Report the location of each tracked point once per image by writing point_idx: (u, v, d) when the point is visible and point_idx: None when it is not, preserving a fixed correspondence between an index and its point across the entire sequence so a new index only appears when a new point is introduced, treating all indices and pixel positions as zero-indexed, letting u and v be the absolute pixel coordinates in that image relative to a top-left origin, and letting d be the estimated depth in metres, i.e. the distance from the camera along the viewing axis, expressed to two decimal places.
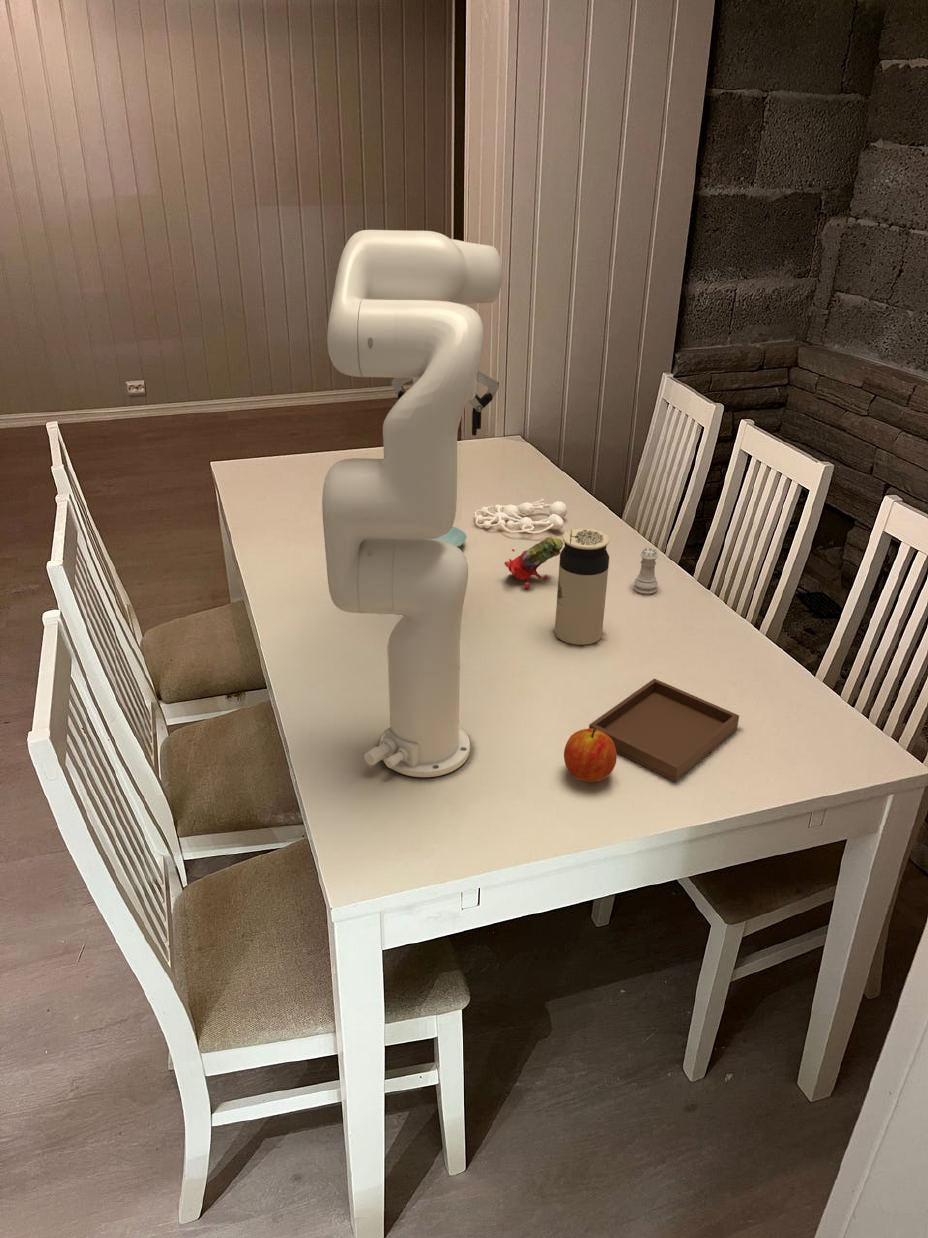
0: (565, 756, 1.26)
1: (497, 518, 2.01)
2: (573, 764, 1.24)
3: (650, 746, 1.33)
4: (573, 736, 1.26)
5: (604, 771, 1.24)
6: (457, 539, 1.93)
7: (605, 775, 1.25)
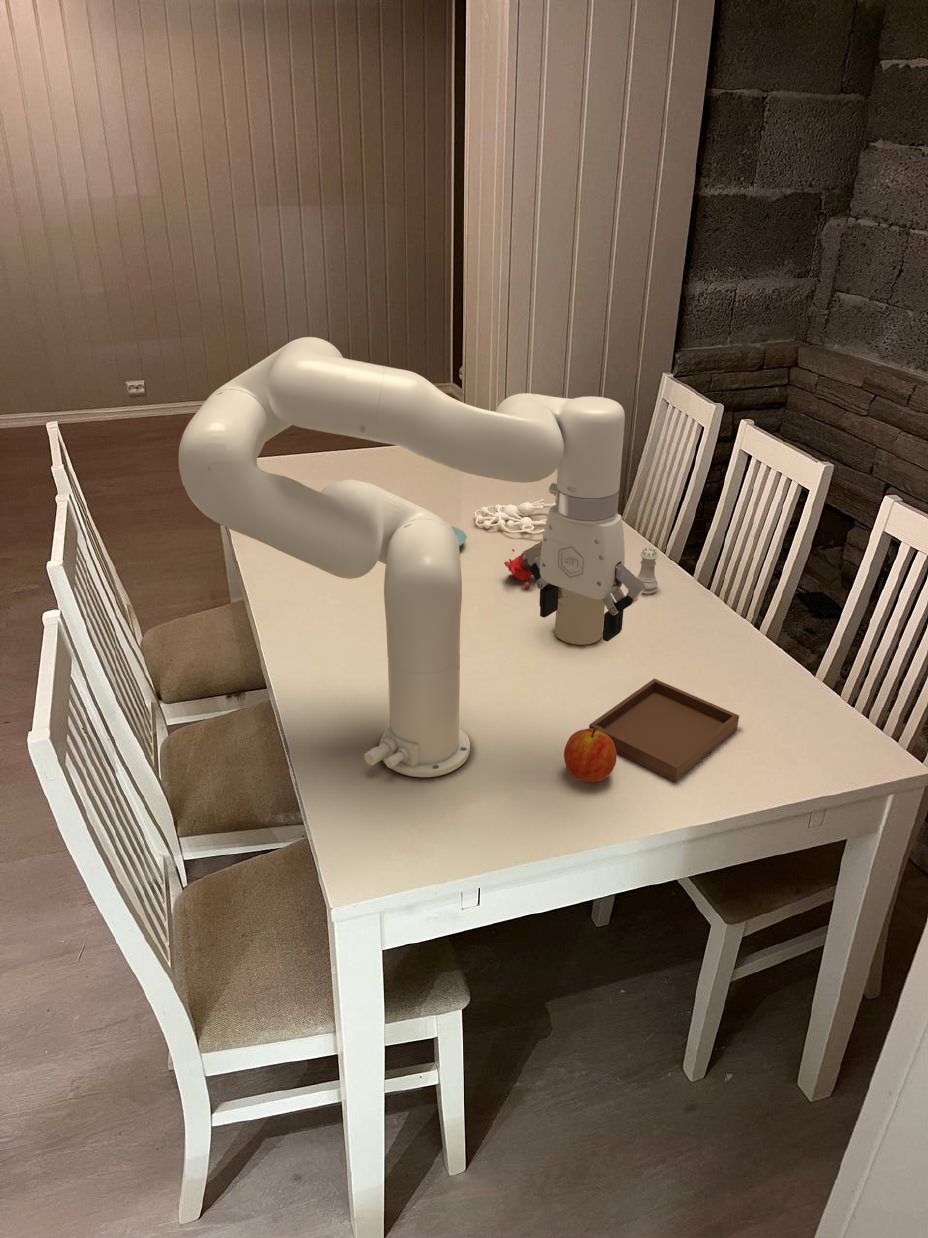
0: (565, 756, 1.26)
1: (497, 518, 2.01)
2: (573, 764, 1.24)
3: (650, 746, 1.33)
4: (573, 736, 1.26)
5: (604, 771, 1.24)
6: None
7: (605, 775, 1.25)
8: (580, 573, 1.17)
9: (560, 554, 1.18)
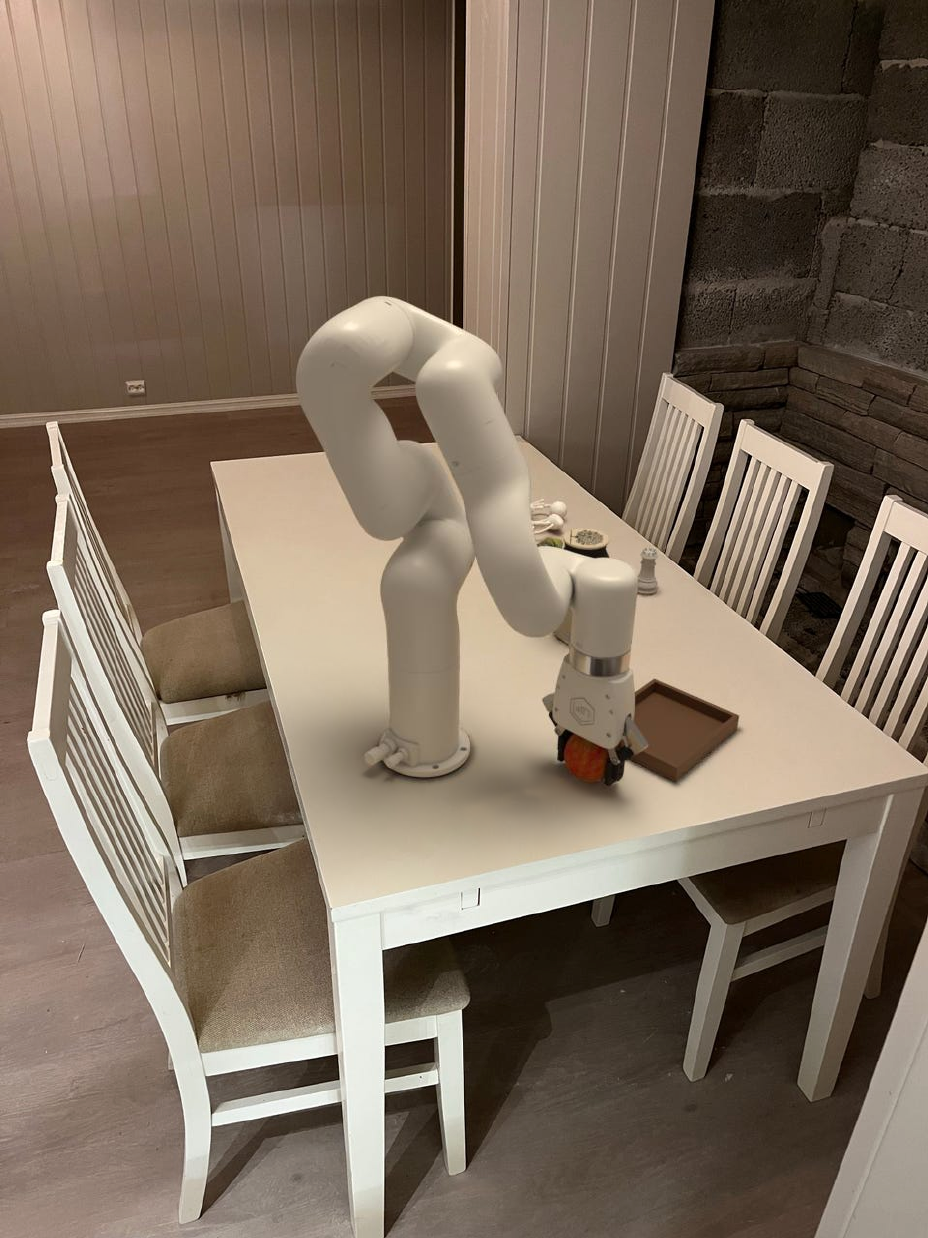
0: (565, 756, 1.26)
1: None
2: (573, 764, 1.24)
3: (650, 746, 1.33)
4: (573, 736, 1.26)
5: (604, 771, 1.24)
6: None
7: None
8: (591, 723, 1.20)
9: (572, 702, 1.21)
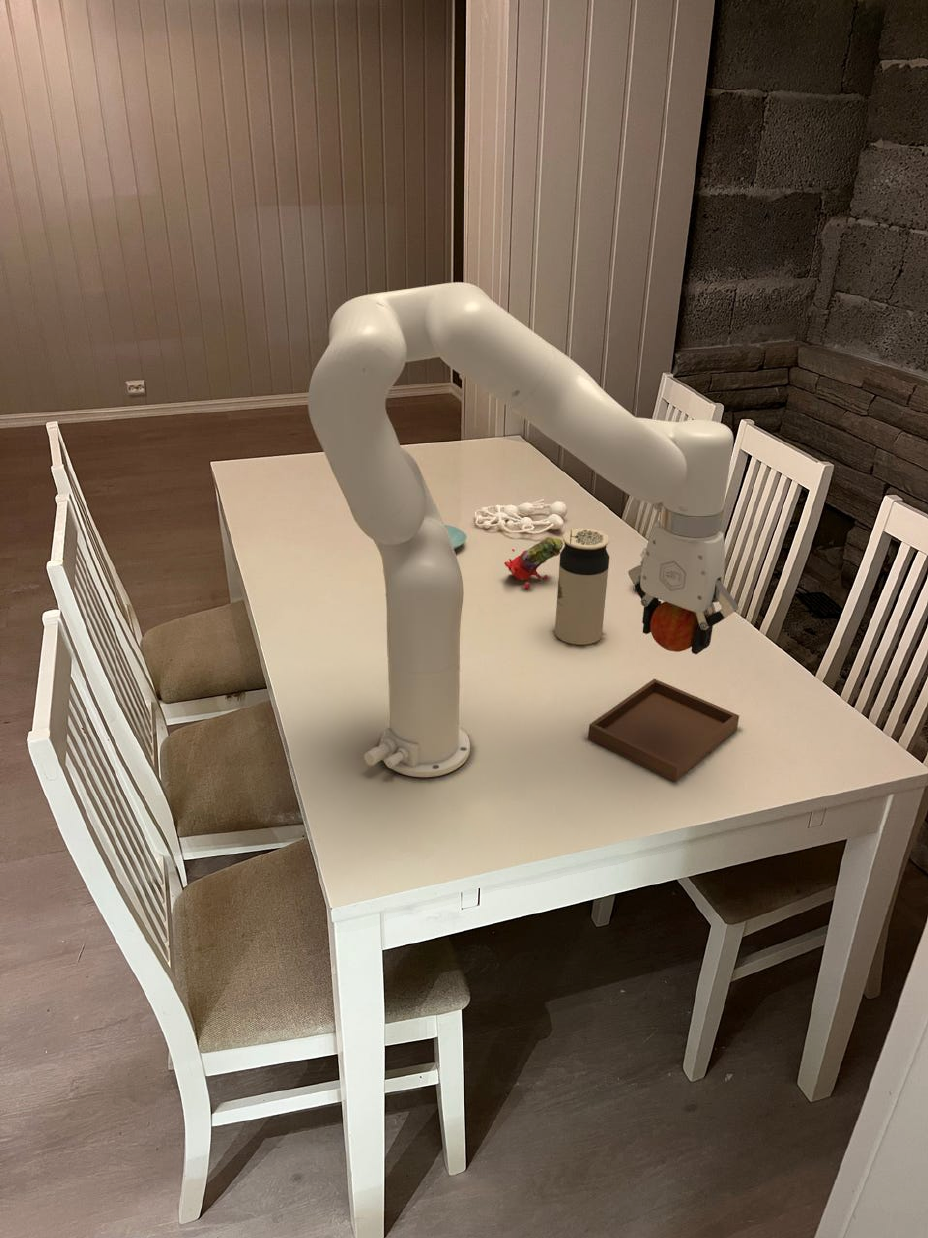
0: (652, 625, 1.28)
1: (497, 518, 2.01)
2: (661, 632, 1.27)
3: (650, 746, 1.33)
4: (660, 606, 1.28)
5: (691, 637, 1.26)
6: (457, 539, 1.93)
7: None
8: (681, 587, 1.23)
9: (662, 568, 1.24)
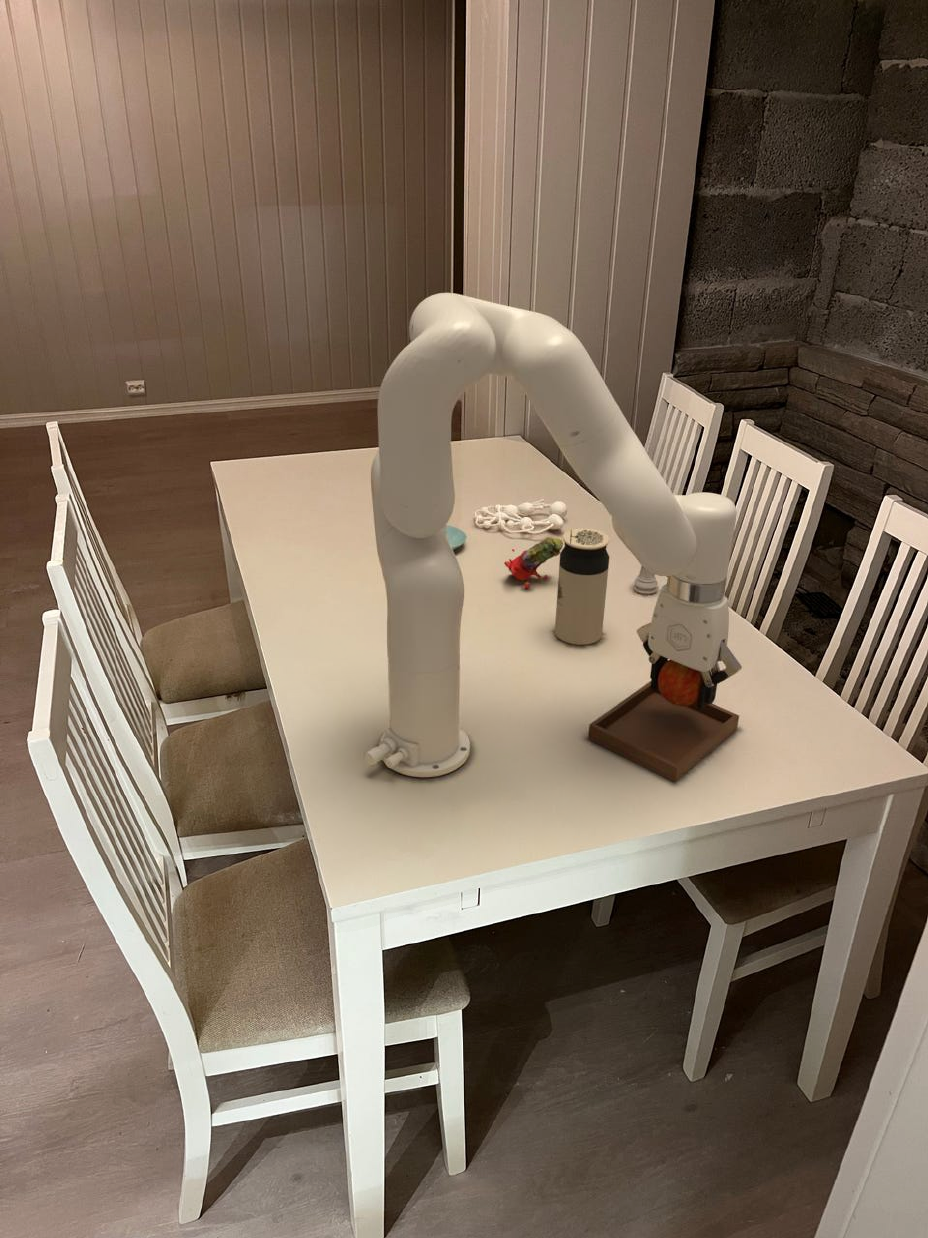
0: (660, 682, 1.35)
1: (497, 518, 2.01)
2: (668, 688, 1.34)
3: (650, 746, 1.33)
4: (667, 663, 1.35)
5: (697, 694, 1.33)
6: (457, 539, 1.93)
7: None
8: (687, 648, 1.30)
9: (669, 629, 1.31)
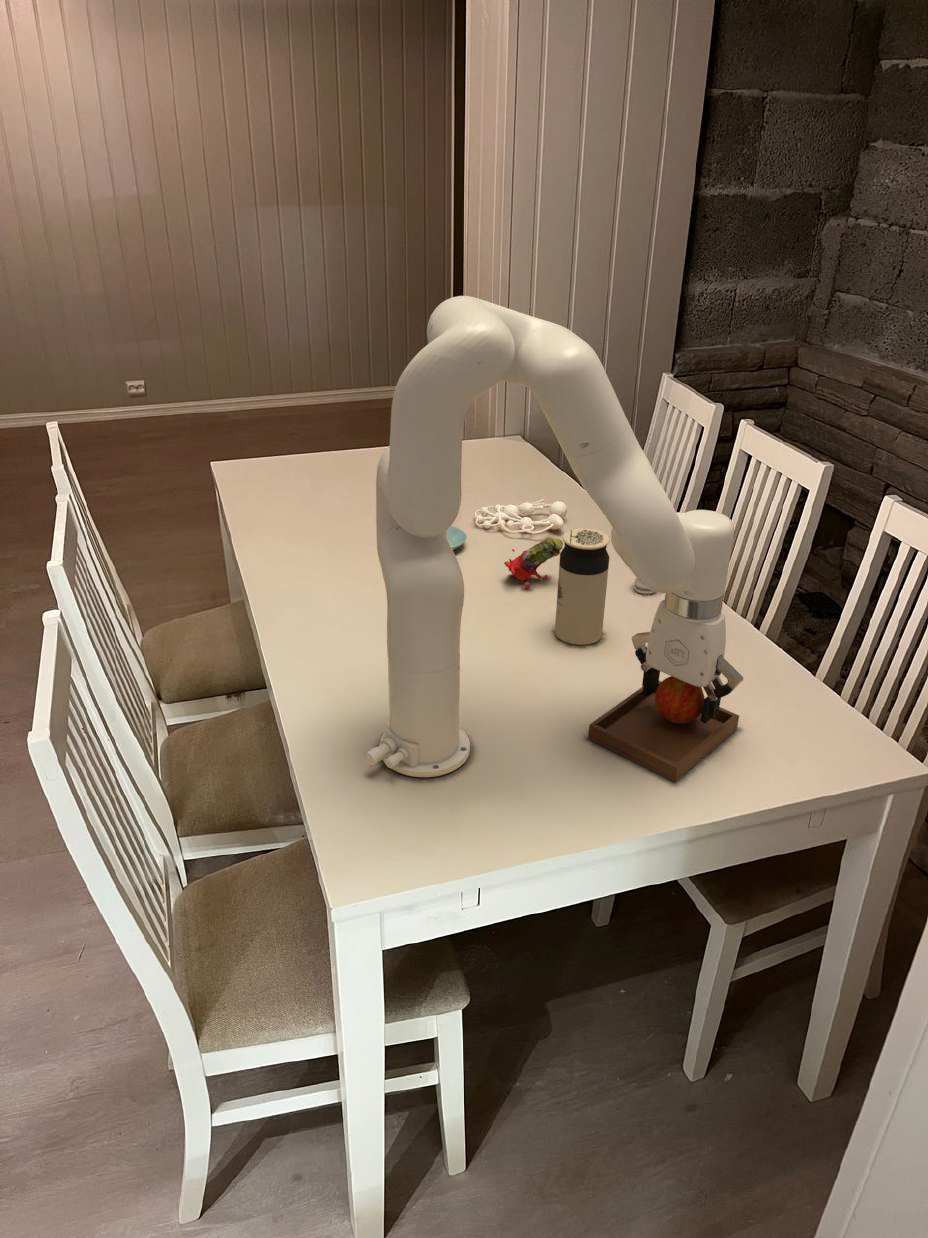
0: (657, 700, 1.37)
1: (497, 518, 2.01)
2: (665, 707, 1.35)
3: (650, 746, 1.33)
4: (664, 681, 1.37)
5: (694, 712, 1.35)
6: (457, 539, 1.93)
7: (694, 717, 1.35)
8: (684, 663, 1.31)
9: (667, 645, 1.32)
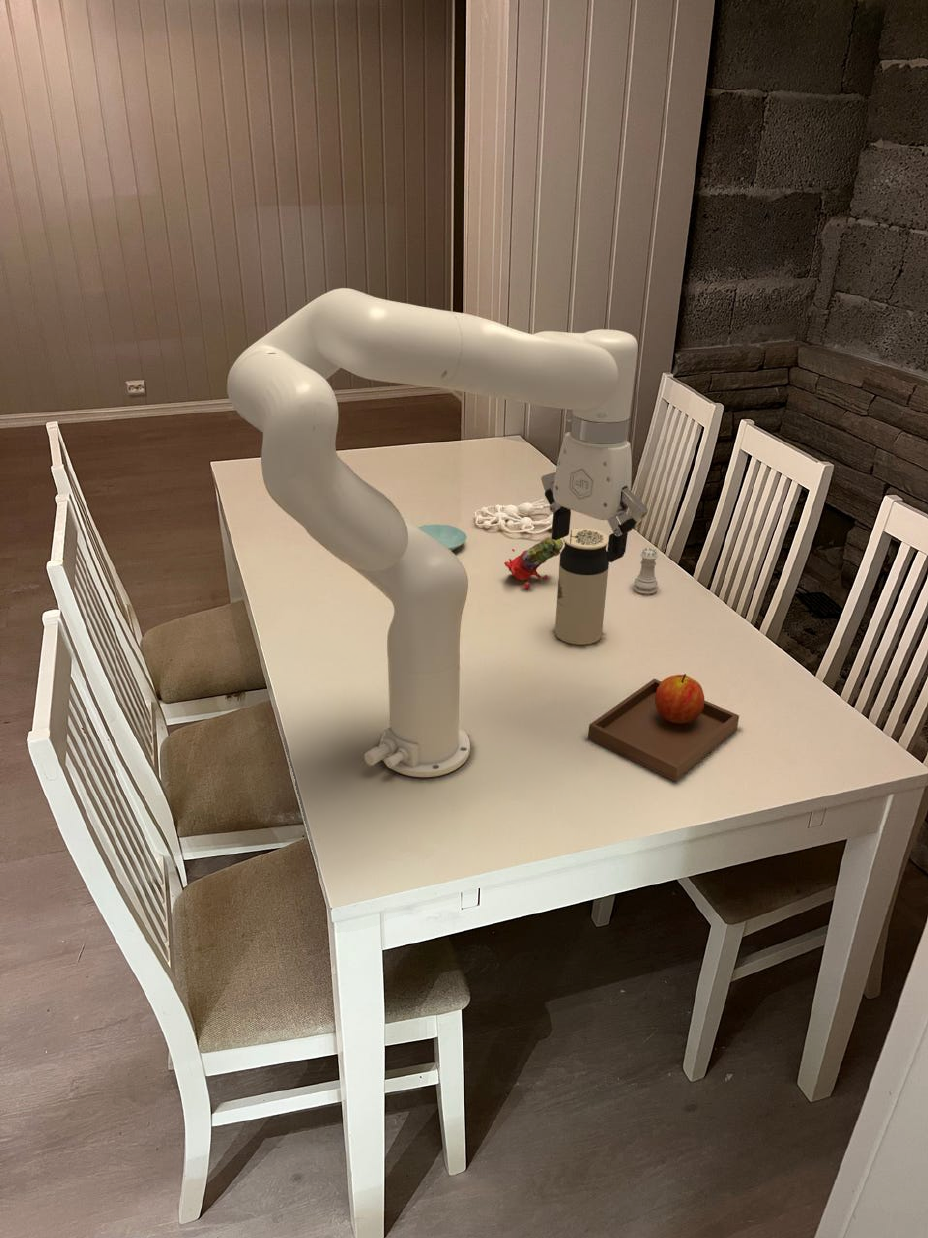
0: (657, 700, 1.37)
1: (497, 518, 2.01)
2: (665, 707, 1.35)
3: (650, 746, 1.33)
4: (664, 681, 1.37)
5: (694, 712, 1.35)
6: (457, 539, 1.93)
7: (694, 717, 1.35)
8: (589, 494, 1.26)
9: (572, 477, 1.27)
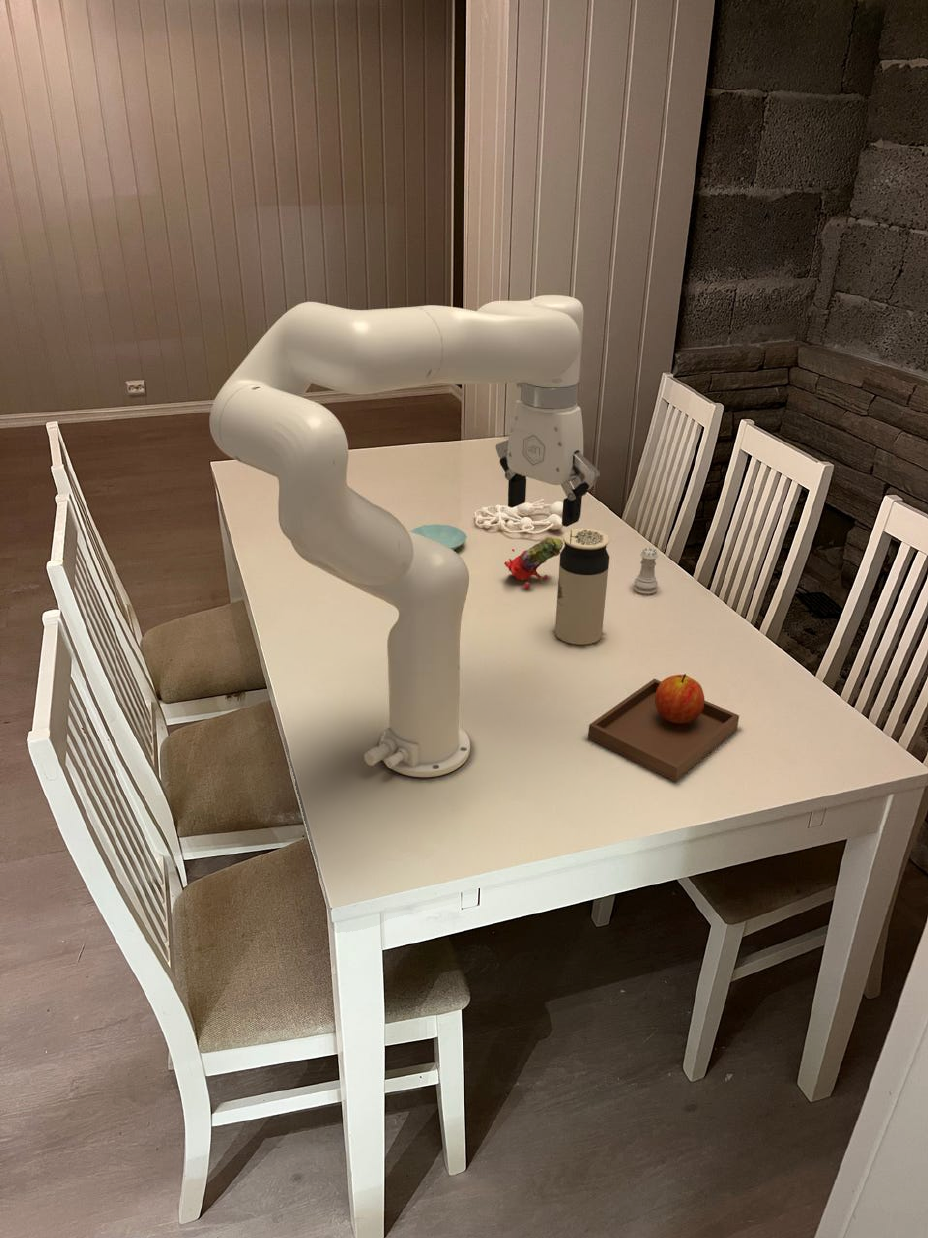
0: (657, 700, 1.37)
1: (497, 518, 2.01)
2: (665, 707, 1.35)
3: (650, 746, 1.33)
4: (664, 681, 1.37)
5: (694, 712, 1.35)
6: (457, 539, 1.93)
7: (694, 717, 1.35)
8: (541, 460, 1.28)
9: (524, 443, 1.29)
